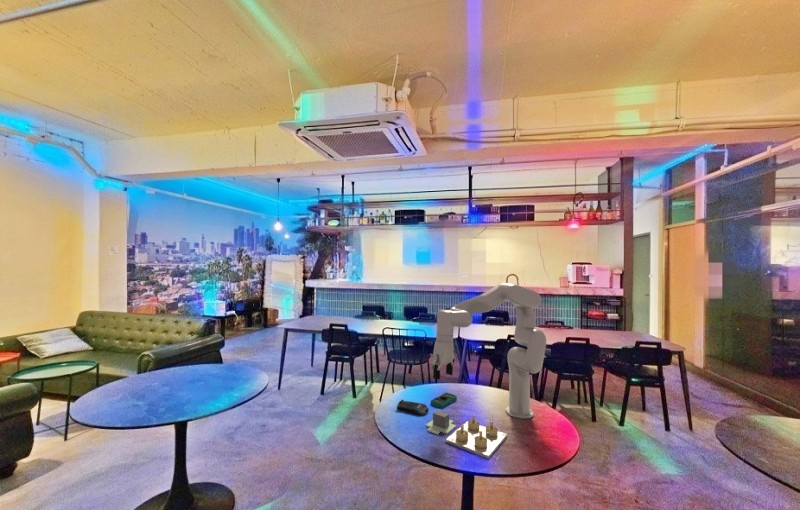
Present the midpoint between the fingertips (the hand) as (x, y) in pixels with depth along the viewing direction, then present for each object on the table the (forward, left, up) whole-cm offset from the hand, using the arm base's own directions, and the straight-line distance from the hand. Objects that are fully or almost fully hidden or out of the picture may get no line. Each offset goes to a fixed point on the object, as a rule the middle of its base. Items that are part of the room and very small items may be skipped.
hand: (442, 376), depth 146 cm
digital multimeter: (-23, -12, -23) cm, 35 cm away
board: (+1, 0, -22) cm, 22 cm away
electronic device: (-5, -19, -22) cm, 30 cm away
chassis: (+1, +17, -22) cm, 28 cm away
